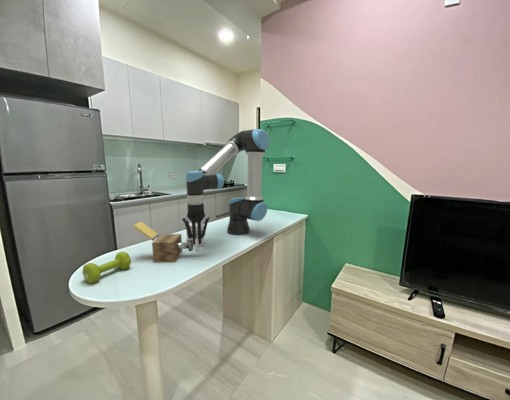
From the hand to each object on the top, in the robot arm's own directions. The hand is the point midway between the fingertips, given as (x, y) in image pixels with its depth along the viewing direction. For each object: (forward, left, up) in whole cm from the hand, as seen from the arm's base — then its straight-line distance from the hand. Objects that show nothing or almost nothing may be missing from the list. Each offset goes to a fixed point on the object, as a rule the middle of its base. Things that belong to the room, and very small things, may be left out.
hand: (197, 250), depth 110 cm
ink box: (+4, -16, -3) cm, 17 cm away
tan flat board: (+24, 0, +10) cm, 26 cm away
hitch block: (+14, 0, -3) cm, 14 cm away
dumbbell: (+33, +16, -3) cm, 37 cm away
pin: (+9, 0, 0) cm, 9 cm away
